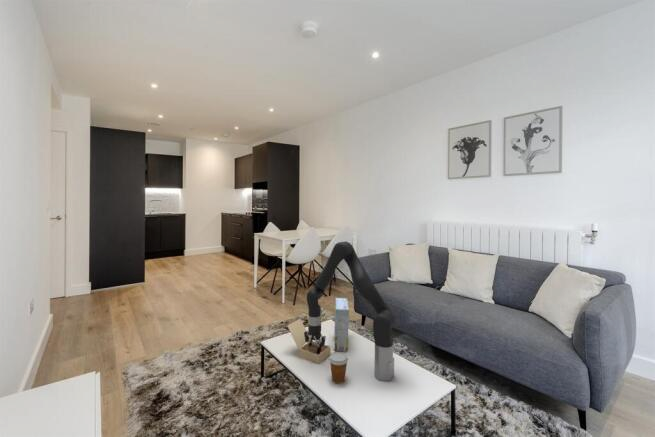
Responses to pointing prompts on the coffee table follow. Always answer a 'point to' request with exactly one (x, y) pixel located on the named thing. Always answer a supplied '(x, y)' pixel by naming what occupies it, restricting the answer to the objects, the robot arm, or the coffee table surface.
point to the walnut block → (314, 349)
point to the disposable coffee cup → (338, 366)
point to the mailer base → (313, 357)
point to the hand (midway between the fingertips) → (314, 351)
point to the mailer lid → (297, 332)
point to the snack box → (341, 324)
